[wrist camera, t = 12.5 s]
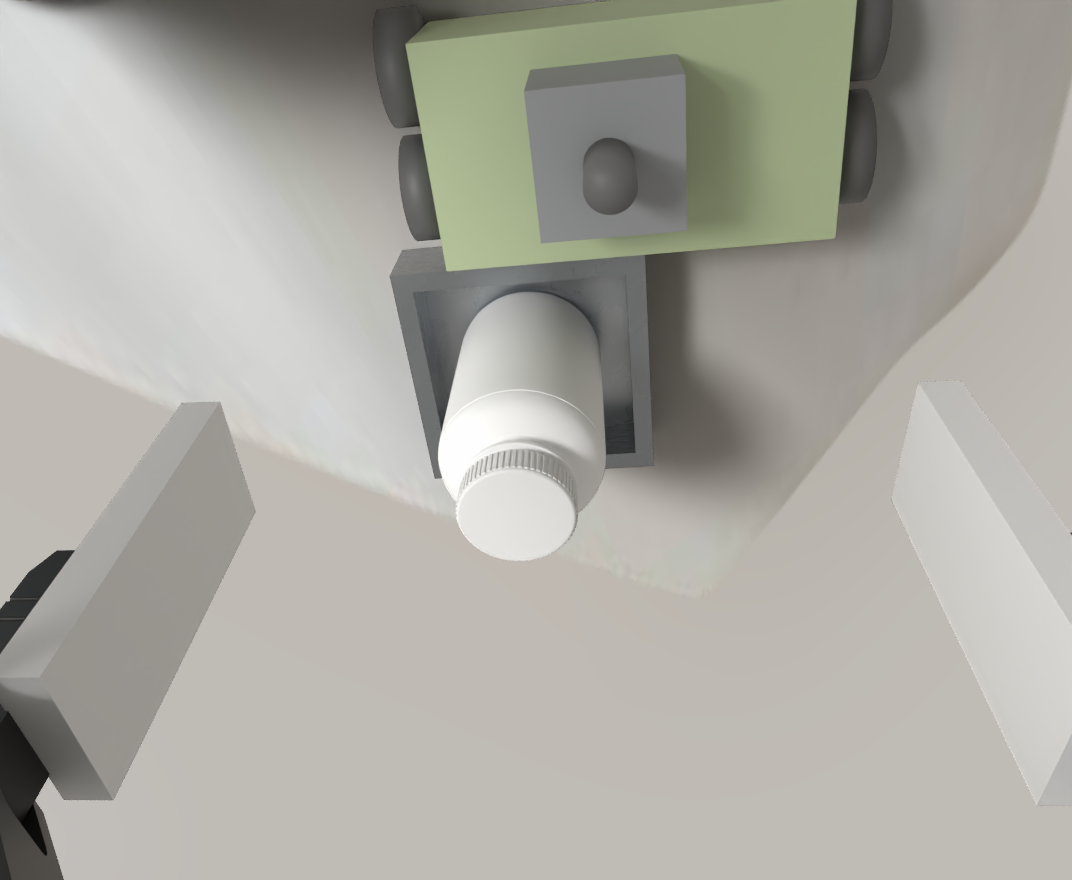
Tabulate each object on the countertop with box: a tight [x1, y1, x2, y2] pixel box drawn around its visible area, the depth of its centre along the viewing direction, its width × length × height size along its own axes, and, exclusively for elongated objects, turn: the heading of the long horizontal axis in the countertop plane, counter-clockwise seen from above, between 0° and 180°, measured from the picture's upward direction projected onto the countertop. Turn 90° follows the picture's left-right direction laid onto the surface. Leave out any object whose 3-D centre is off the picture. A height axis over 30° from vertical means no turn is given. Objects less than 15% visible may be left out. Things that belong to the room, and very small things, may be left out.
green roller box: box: [373, 0, 892, 271], centre depth 36 cm, size 21×11×13 cm, turn 96°
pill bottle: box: [438, 292, 606, 561], centre depth 42 cm, size 8×8×15 cm
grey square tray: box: [390, 247, 654, 479], centre depth 48 cm, size 13×13×4 cm
